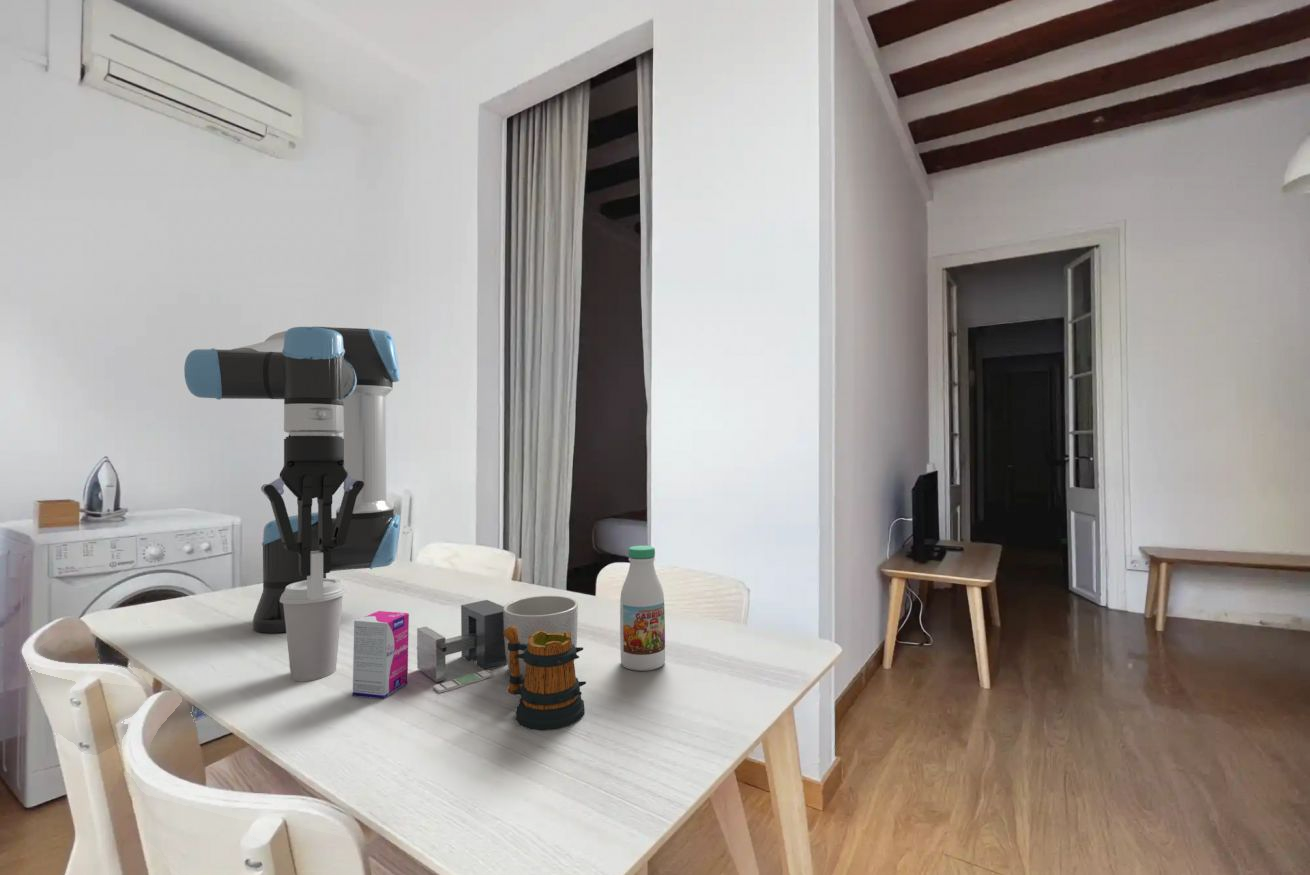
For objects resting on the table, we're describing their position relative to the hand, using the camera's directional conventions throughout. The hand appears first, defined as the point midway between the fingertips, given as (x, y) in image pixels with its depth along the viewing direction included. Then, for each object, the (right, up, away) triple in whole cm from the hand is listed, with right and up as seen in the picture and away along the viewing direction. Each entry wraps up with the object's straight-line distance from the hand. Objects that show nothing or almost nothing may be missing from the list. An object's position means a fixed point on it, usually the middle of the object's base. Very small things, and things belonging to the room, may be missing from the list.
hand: (315, 597), depth 82 cm
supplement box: (+7, -16, +6) cm, 19 cm away
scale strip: (+19, -16, +8) cm, 26 cm away
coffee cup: (-8, -17, +13) cm, 22 cm away
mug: (+33, -16, -2) cm, 37 cm away
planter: (+30, -16, +13) cm, 37 cm away
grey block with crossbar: (+17, -16, +14) cm, 27 cm away
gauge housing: (+19, -16, +18) cm, 31 cm away
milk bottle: (+47, -16, +15) cm, 52 cm away
